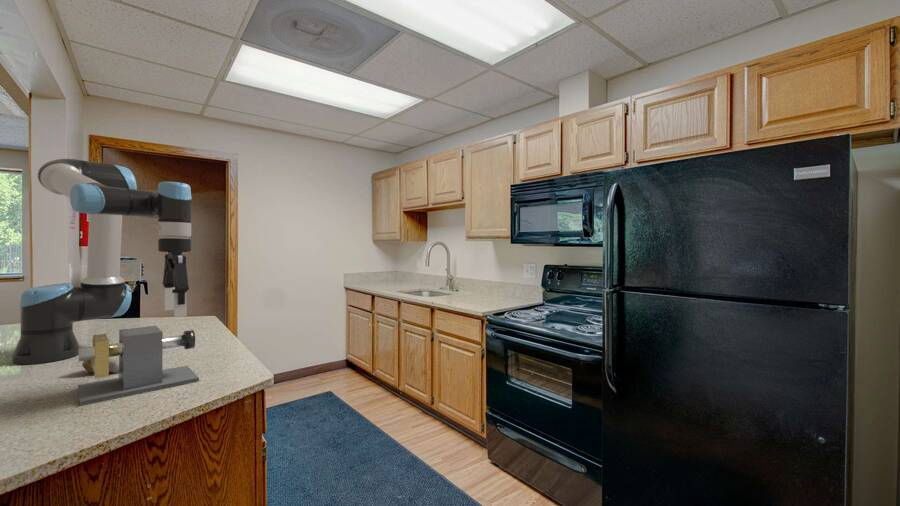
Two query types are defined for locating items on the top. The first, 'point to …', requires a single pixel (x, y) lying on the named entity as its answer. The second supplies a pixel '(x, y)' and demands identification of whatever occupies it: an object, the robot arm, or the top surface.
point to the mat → (114, 389)
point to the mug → (112, 364)
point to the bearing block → (140, 357)
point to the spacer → (101, 356)
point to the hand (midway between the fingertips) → (175, 313)
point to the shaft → (168, 342)
